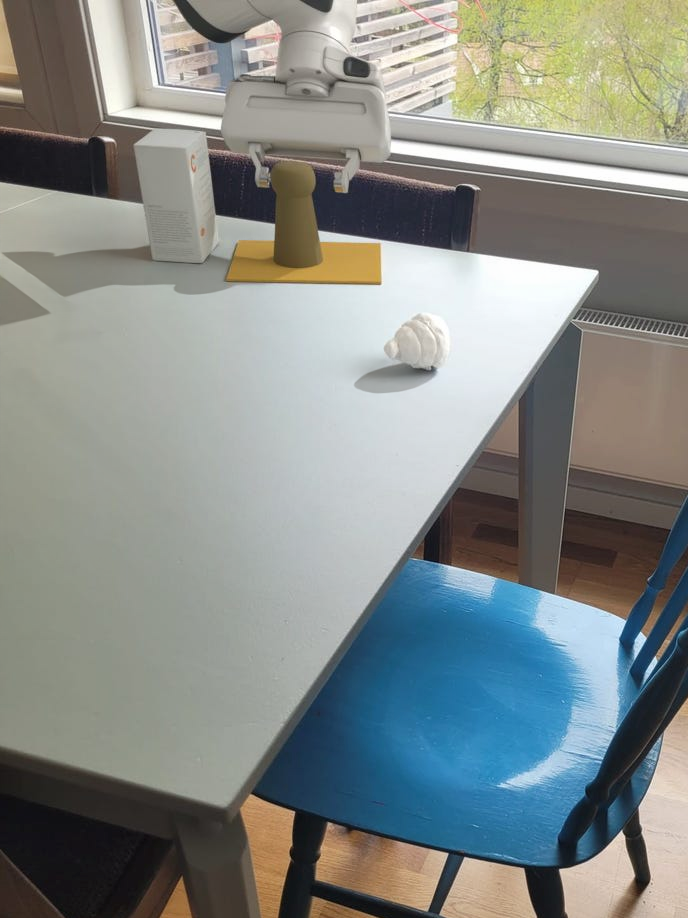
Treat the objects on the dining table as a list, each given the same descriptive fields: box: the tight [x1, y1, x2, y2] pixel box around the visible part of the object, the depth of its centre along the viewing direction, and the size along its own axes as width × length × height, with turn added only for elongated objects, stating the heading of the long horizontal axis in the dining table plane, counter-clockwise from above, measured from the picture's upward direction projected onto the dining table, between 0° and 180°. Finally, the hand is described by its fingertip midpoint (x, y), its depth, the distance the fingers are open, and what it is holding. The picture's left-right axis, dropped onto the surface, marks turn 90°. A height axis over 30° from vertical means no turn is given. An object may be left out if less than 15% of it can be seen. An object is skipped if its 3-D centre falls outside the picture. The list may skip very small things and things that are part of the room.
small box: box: [132, 127, 220, 264], centre depth 119 cm, size 8×6×13 cm
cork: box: [270, 160, 323, 268], centre depth 118 cm, size 6×6×11 cm
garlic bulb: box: [383, 312, 451, 371], centre depth 98 cm, size 6×6×5 cm
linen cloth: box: [225, 239, 382, 285], centre depth 122 cm, size 18×14×1 cm
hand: (301, 187), depth 119 cm, fingers open, 8 cm apart
